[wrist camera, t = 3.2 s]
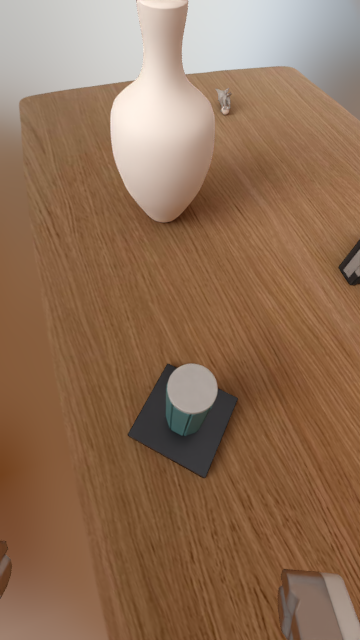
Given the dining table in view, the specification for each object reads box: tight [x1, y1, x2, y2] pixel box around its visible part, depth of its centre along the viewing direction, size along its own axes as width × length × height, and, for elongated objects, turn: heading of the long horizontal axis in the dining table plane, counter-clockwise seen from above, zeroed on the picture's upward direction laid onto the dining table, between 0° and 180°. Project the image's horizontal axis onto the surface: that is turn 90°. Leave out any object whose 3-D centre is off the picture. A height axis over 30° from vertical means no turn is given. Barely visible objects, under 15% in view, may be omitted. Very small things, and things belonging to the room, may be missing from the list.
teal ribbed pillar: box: [166, 364, 218, 436], centre depth 32 cm, size 4×4×12 cm
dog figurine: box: [216, 88, 231, 115], centre depth 70 cm, size 3×8×6 cm
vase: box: [111, 0, 215, 223], centre depth 43 cm, size 14×14×28 cm
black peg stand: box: [128, 364, 238, 478], centre depth 35 cm, size 10×10×7 cm
